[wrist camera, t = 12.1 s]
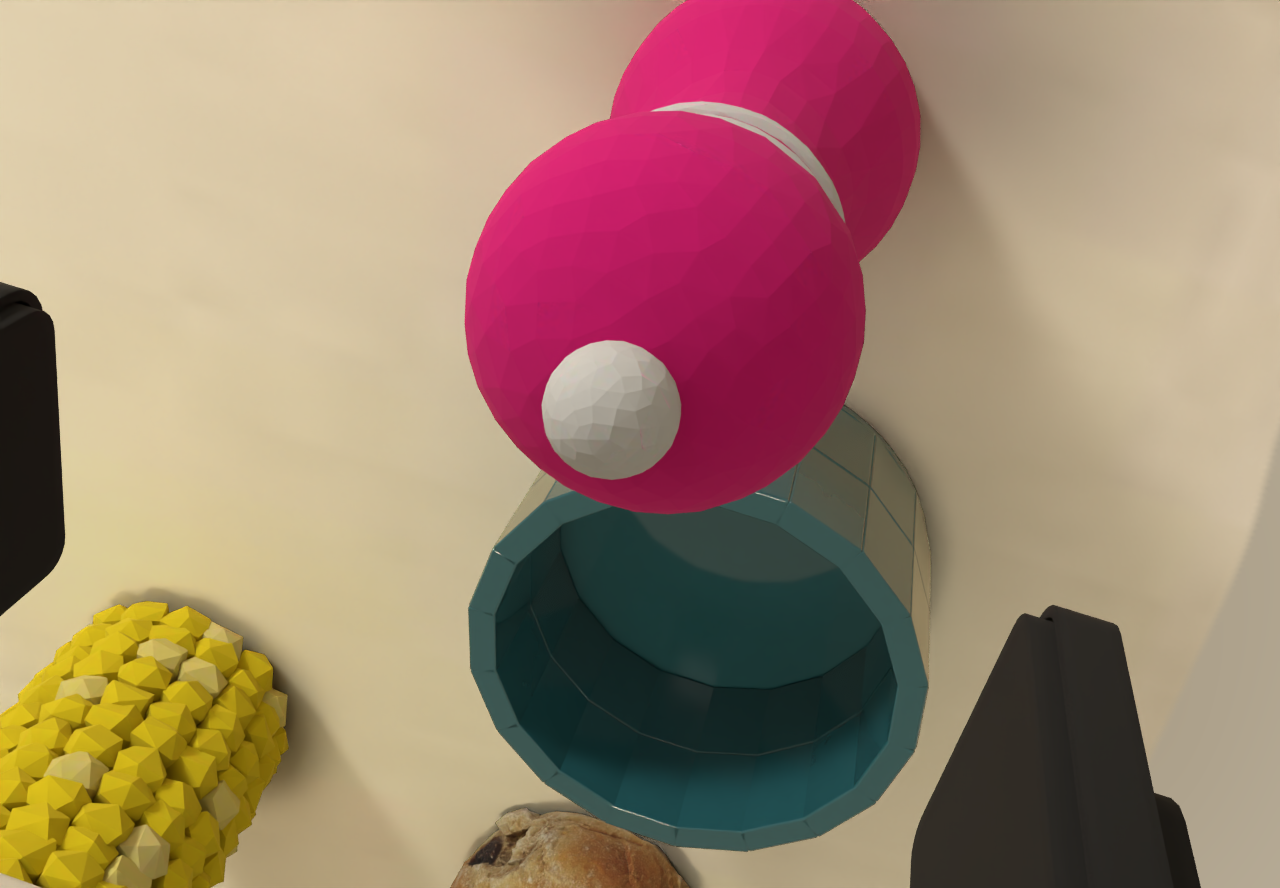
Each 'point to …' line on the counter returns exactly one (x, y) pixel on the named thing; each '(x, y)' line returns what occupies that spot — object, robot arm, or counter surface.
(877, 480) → the pot
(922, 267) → the counter surface
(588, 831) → the bread roll
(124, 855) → the food
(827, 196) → the pepper mill
